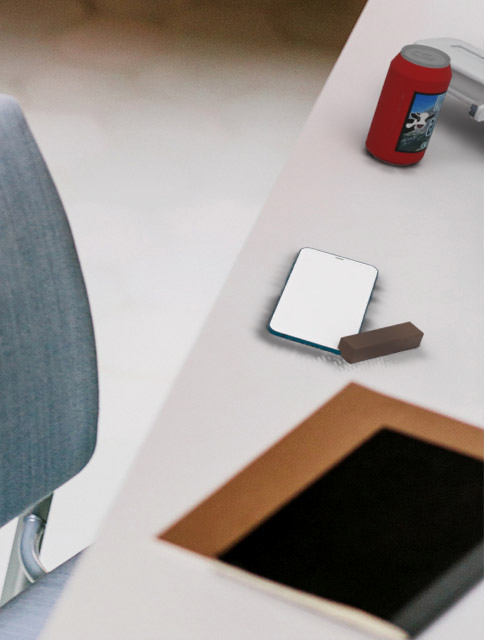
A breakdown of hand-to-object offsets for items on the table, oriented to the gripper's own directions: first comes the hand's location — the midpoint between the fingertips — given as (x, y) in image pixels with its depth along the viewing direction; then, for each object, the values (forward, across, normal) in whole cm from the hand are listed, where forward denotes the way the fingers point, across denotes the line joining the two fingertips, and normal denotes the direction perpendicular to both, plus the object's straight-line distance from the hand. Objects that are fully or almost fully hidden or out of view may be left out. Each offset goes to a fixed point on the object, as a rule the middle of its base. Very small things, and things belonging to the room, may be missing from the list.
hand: (442, 94), depth 135 cm
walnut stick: (+36, +27, +7) cm, 45 cm away
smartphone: (+35, +19, +7) cm, 41 cm away
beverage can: (+5, 0, +7) cm, 9 cm away
